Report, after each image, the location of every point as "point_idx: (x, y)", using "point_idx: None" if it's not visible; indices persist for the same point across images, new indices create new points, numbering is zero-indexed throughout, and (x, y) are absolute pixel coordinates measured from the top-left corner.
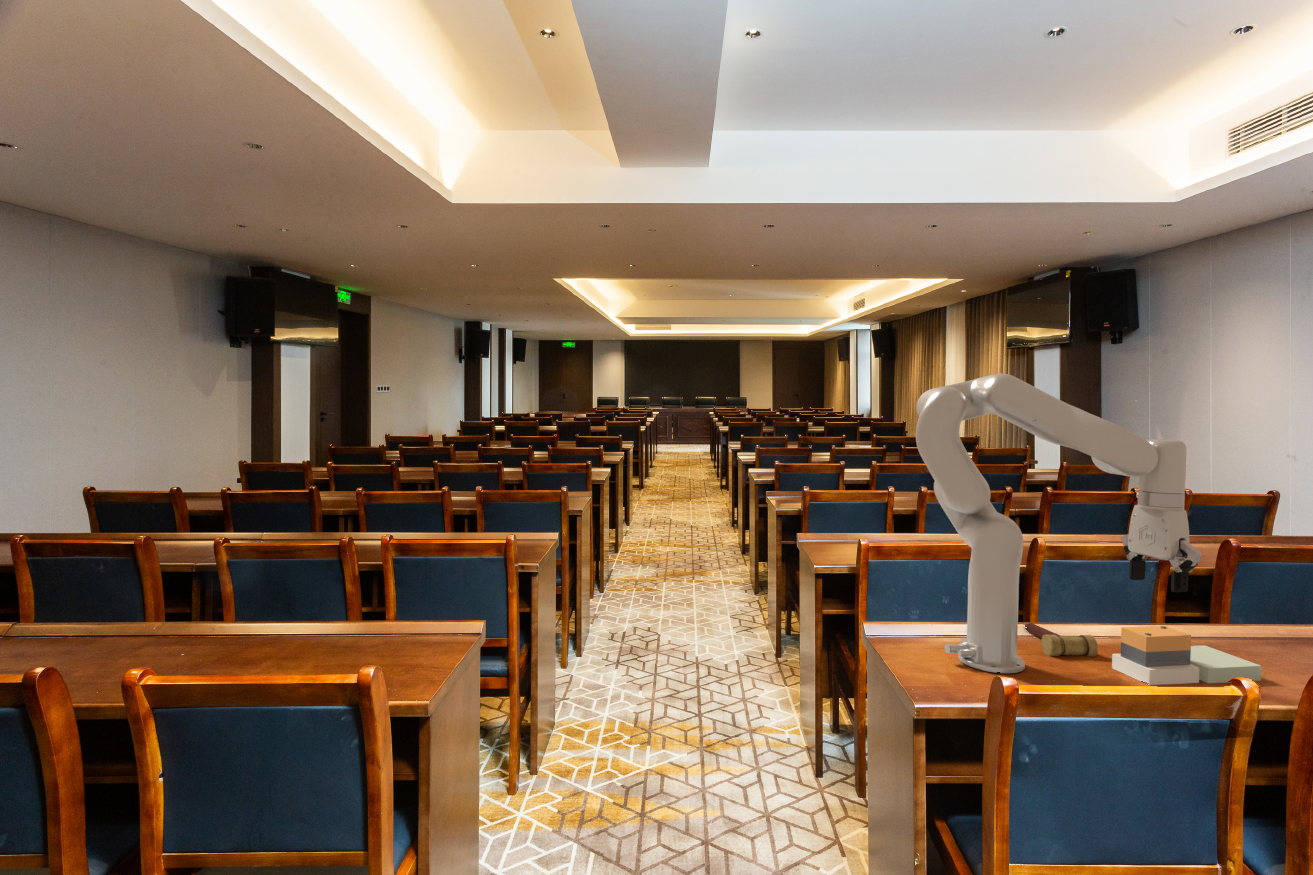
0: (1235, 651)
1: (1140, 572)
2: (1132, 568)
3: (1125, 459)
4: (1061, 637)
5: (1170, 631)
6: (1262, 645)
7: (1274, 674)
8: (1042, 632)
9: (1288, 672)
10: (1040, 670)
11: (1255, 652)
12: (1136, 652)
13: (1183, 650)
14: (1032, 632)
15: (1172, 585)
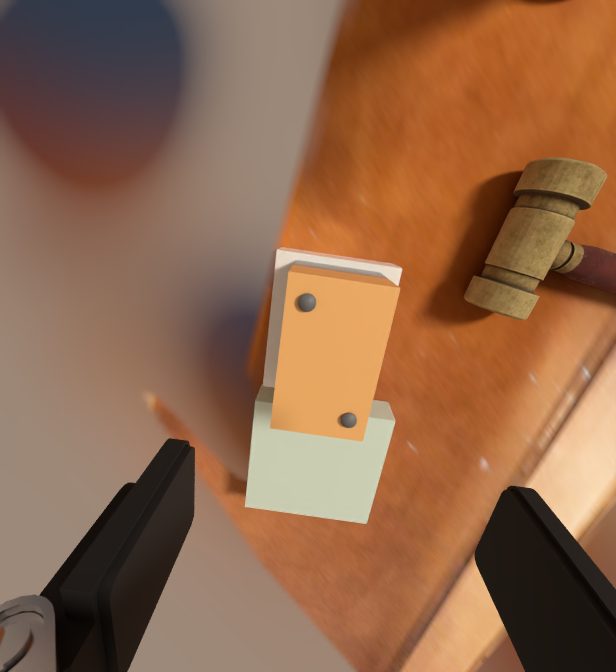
0: (371, 575)
1: (511, 582)
2: (570, 570)
3: None
4: (555, 213)
5: (314, 405)
6: (376, 631)
7: (269, 527)
8: None
9: (271, 553)
10: (460, 10)
11: (356, 595)
12: (327, 268)
13: None
14: None
15: (161, 467)
